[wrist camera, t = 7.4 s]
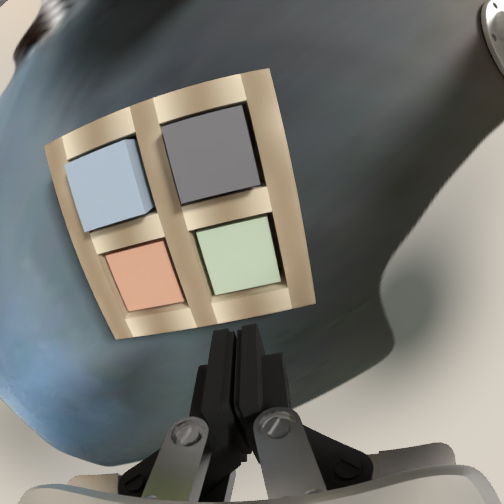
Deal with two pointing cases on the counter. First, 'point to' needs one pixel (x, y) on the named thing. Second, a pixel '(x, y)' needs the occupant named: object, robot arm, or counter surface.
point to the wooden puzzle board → (191, 208)
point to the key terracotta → (146, 275)
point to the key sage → (239, 254)
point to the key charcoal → (211, 154)
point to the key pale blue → (110, 185)
